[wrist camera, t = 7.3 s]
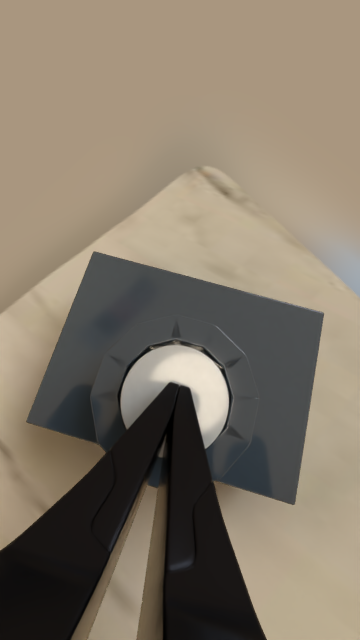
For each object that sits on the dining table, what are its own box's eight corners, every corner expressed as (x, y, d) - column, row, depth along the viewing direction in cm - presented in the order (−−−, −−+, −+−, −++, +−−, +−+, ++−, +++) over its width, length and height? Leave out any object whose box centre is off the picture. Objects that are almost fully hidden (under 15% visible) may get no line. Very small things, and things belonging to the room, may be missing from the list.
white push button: (208, 455, 11) (214, 475, 9) (117, 428, 11) (104, 440, 9) (229, 362, 11) (239, 360, 10) (145, 338, 12) (139, 332, 10)
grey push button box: (258, 466, 16) (320, 540, 9) (69, 408, 17) (-8, 437, 10) (284, 327, 18) (350, 302, 11) (115, 281, 19) (79, 230, 12)
